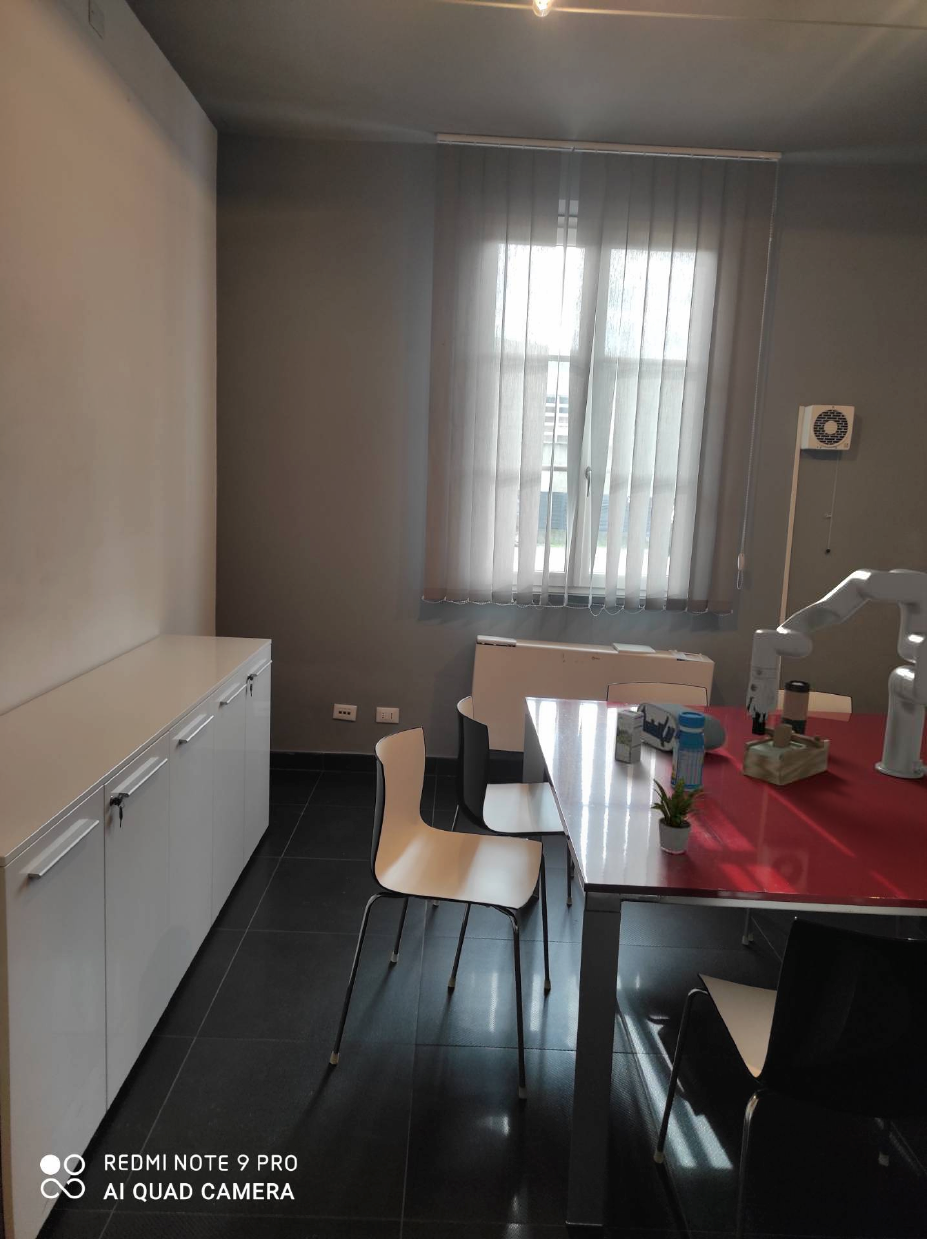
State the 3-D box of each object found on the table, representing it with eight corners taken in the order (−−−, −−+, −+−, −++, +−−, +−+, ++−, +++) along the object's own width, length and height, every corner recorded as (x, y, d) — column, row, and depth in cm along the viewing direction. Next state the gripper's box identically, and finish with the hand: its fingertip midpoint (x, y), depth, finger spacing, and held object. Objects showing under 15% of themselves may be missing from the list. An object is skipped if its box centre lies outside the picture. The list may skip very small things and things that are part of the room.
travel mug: (806, 747, 273) (812, 686, 270) (780, 745, 274) (787, 684, 272) (801, 741, 280) (808, 681, 278) (777, 738, 282) (783, 679, 279)
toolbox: (826, 770, 250) (829, 740, 249) (781, 785, 234) (784, 754, 233) (788, 759, 259) (791, 730, 258) (742, 773, 243) (745, 742, 242)
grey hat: (632, 737, 274) (637, 698, 273) (681, 736, 282) (686, 698, 280) (673, 758, 254) (678, 716, 253) (725, 756, 262) (730, 715, 260)
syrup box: (641, 760, 251) (644, 712, 249) (630, 764, 246) (634, 715, 244) (624, 755, 255) (628, 708, 252) (613, 759, 250) (617, 711, 248)
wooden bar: (823, 747, 241) (825, 736, 240) (819, 749, 239) (820, 737, 239) (765, 732, 254) (766, 721, 254) (761, 733, 253) (762, 722, 252)
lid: (812, 749, 246) (814, 725, 245) (778, 759, 234) (781, 734, 233) (782, 741, 253) (785, 717, 252) (748, 751, 241) (751, 726, 240)
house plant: (720, 866, 180) (727, 792, 177) (655, 866, 178) (662, 790, 176) (696, 839, 194) (703, 769, 191) (636, 838, 192) (642, 768, 190)
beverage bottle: (686, 794, 223) (692, 719, 221) (662, 784, 231) (668, 712, 228) (708, 789, 228) (715, 716, 225) (685, 780, 235) (691, 709, 232)
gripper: (762, 677, 238) (755, 741, 241) (789, 672, 248) (783, 734, 251) (738, 672, 244) (732, 735, 247) (766, 667, 253) (760, 728, 256)
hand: (758, 734), depth 249 cm, fingers closed
